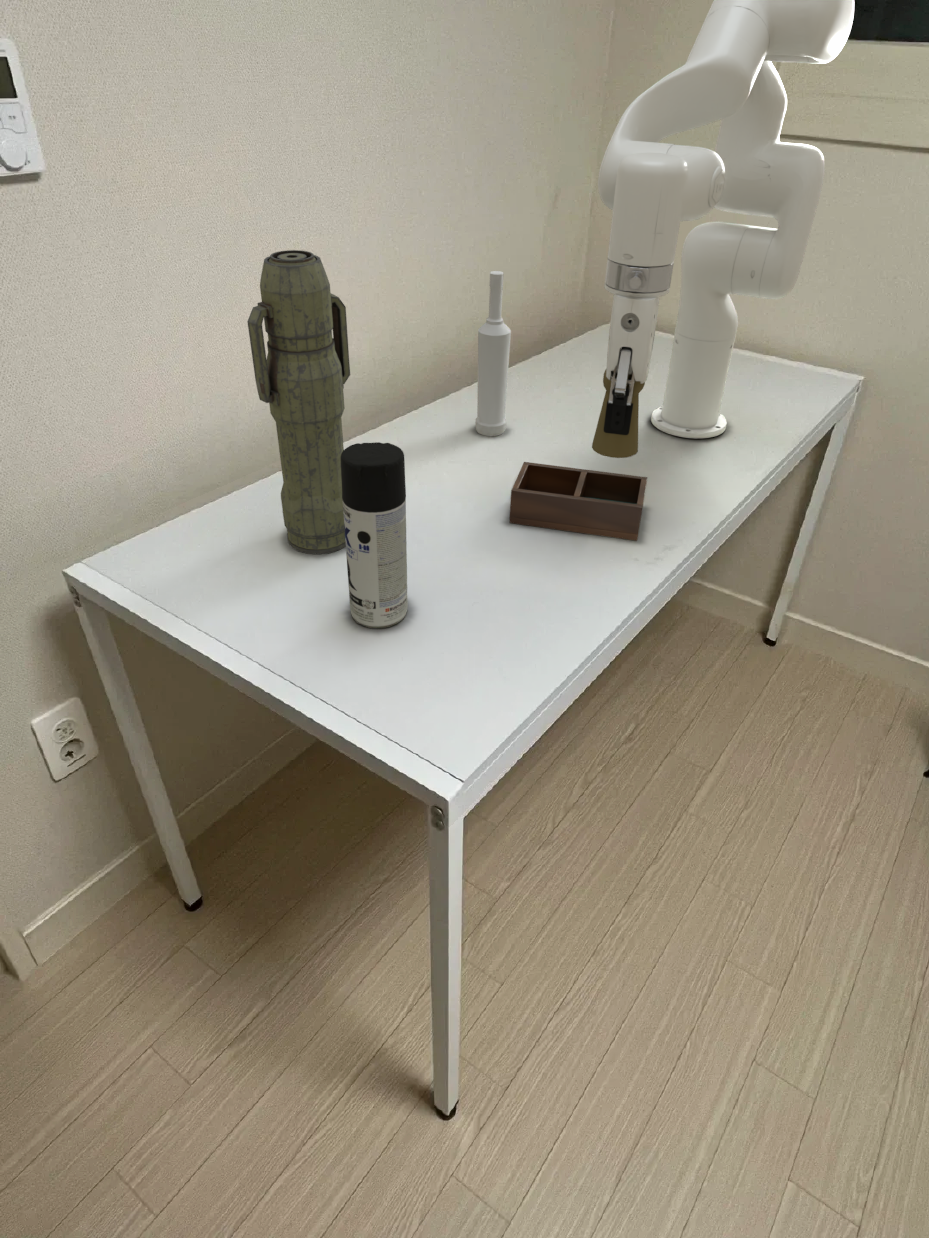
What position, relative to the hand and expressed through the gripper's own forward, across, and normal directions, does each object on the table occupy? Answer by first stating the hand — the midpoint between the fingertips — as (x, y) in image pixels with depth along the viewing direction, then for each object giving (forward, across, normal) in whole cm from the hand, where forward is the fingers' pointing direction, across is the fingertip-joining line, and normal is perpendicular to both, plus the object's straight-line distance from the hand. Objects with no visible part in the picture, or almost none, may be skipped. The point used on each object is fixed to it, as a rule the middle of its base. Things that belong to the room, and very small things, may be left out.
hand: (618, 424), depth 106 cm
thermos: (+14, -15, +36) cm, 41 cm away
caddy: (+14, 0, +4) cm, 15 cm away
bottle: (+14, +25, +22) cm, 36 cm away
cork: (+3, 0, 0) cm, 3 cm away
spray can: (+14, -29, +23) cm, 40 cm away
